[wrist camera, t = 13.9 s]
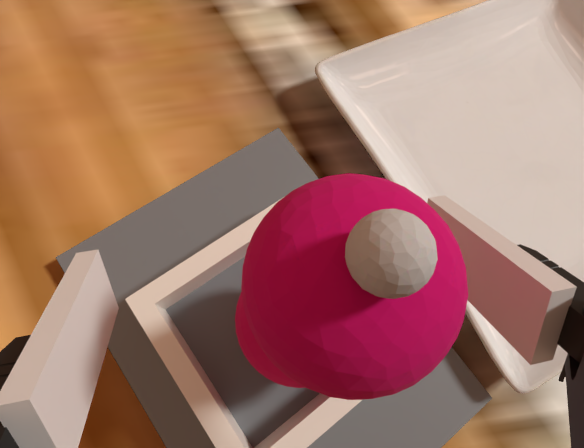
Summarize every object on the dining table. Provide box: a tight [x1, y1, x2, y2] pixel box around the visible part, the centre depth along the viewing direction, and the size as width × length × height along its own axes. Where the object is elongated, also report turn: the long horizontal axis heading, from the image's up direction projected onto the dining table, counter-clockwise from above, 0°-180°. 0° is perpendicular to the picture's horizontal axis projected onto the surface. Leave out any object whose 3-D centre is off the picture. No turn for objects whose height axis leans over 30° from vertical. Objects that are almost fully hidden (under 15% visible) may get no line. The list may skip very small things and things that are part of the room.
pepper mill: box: [235, 173, 468, 400], centre depth 16 cm, size 7×7×20 cm
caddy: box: [56, 128, 492, 448], centre depth 25 cm, size 18×24×4 cm
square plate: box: [315, 0, 584, 393], centre depth 31 cm, size 27×27×4 cm
